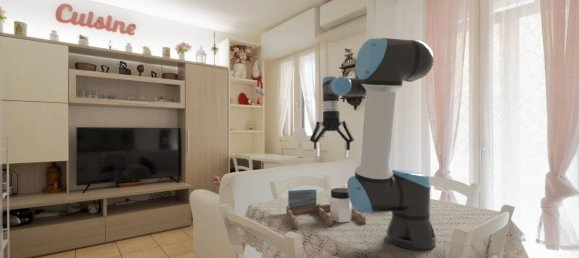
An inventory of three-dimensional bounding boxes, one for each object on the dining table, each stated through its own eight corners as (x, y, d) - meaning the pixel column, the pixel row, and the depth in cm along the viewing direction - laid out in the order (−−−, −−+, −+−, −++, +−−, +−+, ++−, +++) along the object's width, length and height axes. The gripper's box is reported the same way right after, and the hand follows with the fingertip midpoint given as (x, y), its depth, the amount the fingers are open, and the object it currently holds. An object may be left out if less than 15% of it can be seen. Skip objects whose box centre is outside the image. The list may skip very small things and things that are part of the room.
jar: (356, 219, 118) (356, 190, 118) (343, 224, 113) (342, 193, 113) (339, 214, 125) (339, 186, 125) (326, 218, 120) (326, 189, 120)
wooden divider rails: (365, 224, 113) (365, 198, 113) (294, 229, 108) (294, 202, 108) (346, 209, 133) (346, 187, 132) (286, 213, 128) (286, 190, 128)
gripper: (360, 110, 133) (360, 156, 133) (308, 112, 143) (309, 155, 143) (356, 109, 126) (357, 158, 126) (302, 111, 136) (303, 156, 136)
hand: (331, 156), depth 134 cm, fingers open, 13 cm apart
